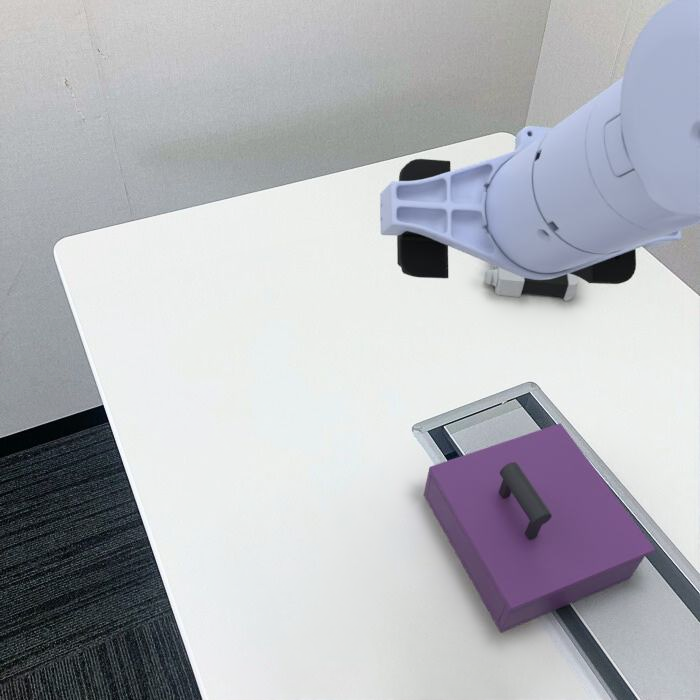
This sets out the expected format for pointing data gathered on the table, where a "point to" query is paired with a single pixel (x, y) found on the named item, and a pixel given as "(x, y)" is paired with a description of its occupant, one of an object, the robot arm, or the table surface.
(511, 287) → the camera
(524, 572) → the box cover
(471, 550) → the purple box
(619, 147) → the robot arm
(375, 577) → the table surface
